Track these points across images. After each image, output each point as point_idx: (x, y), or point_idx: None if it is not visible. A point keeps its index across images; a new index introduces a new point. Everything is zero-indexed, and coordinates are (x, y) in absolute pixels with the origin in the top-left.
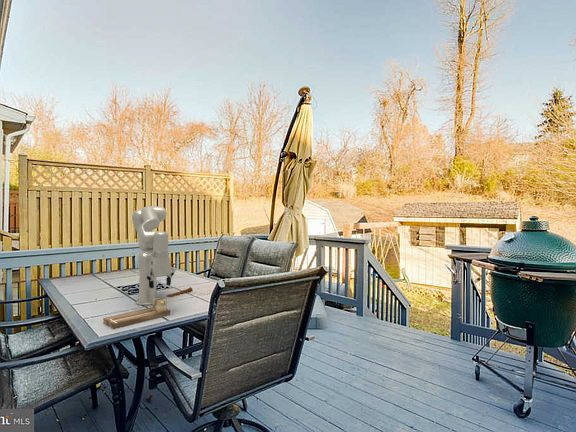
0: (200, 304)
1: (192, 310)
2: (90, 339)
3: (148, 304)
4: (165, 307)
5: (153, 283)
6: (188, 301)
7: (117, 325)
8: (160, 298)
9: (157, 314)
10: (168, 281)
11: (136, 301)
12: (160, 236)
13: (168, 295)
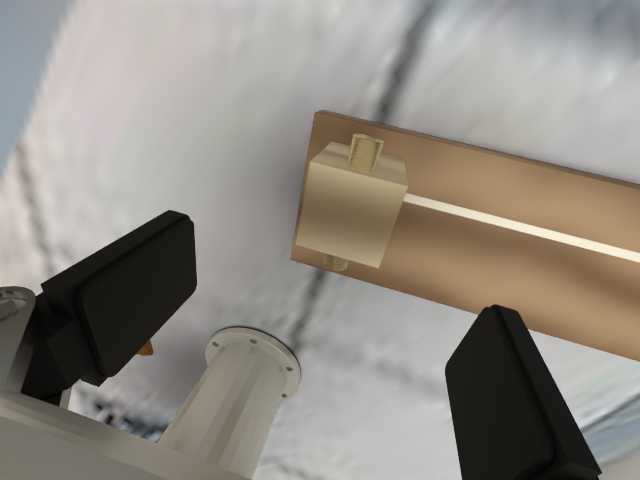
0: (69, 107)
1: (165, 42)
2: None
3: (274, 340)
4: (333, 147)
5: (526, 384)
6: (105, 217)
7: None
8: (324, 230)
9: (423, 137)
10: (147, 277)
11: (288, 397)
12: None
13: (141, 348)
